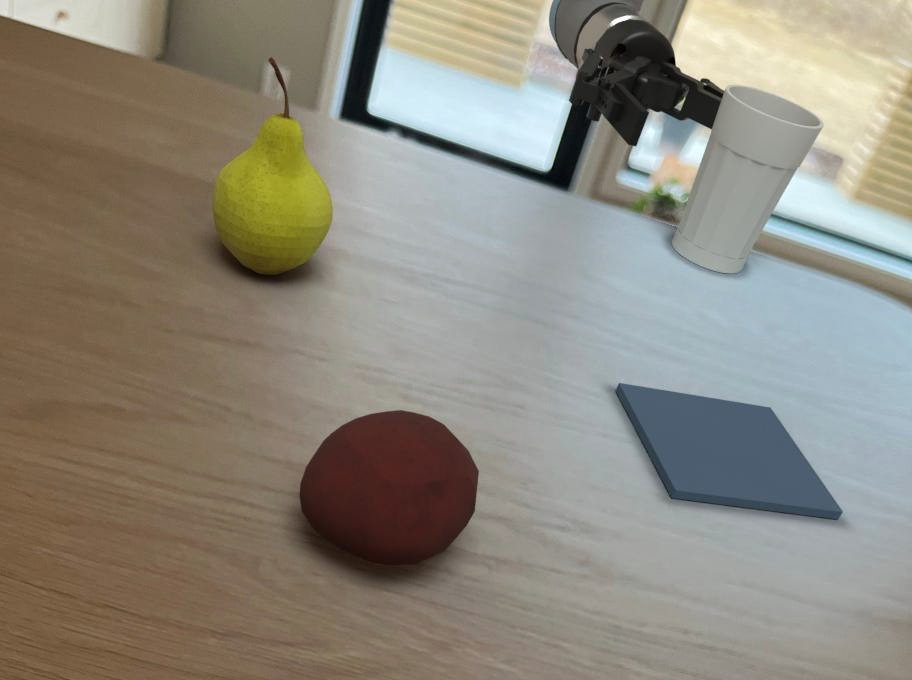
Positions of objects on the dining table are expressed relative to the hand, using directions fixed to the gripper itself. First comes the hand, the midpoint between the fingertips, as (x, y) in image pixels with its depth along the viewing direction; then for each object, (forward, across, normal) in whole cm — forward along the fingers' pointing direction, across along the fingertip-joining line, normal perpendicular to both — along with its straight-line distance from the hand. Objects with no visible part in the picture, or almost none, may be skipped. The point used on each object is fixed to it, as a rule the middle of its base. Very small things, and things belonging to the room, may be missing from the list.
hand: (709, 145), depth 88 cm
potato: (+48, +36, -7) cm, 60 cm away
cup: (+7, 0, -7) cm, 9 cm away
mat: (+37, +12, -6) cm, 40 cm away
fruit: (+22, +39, -7) cm, 45 cm away
